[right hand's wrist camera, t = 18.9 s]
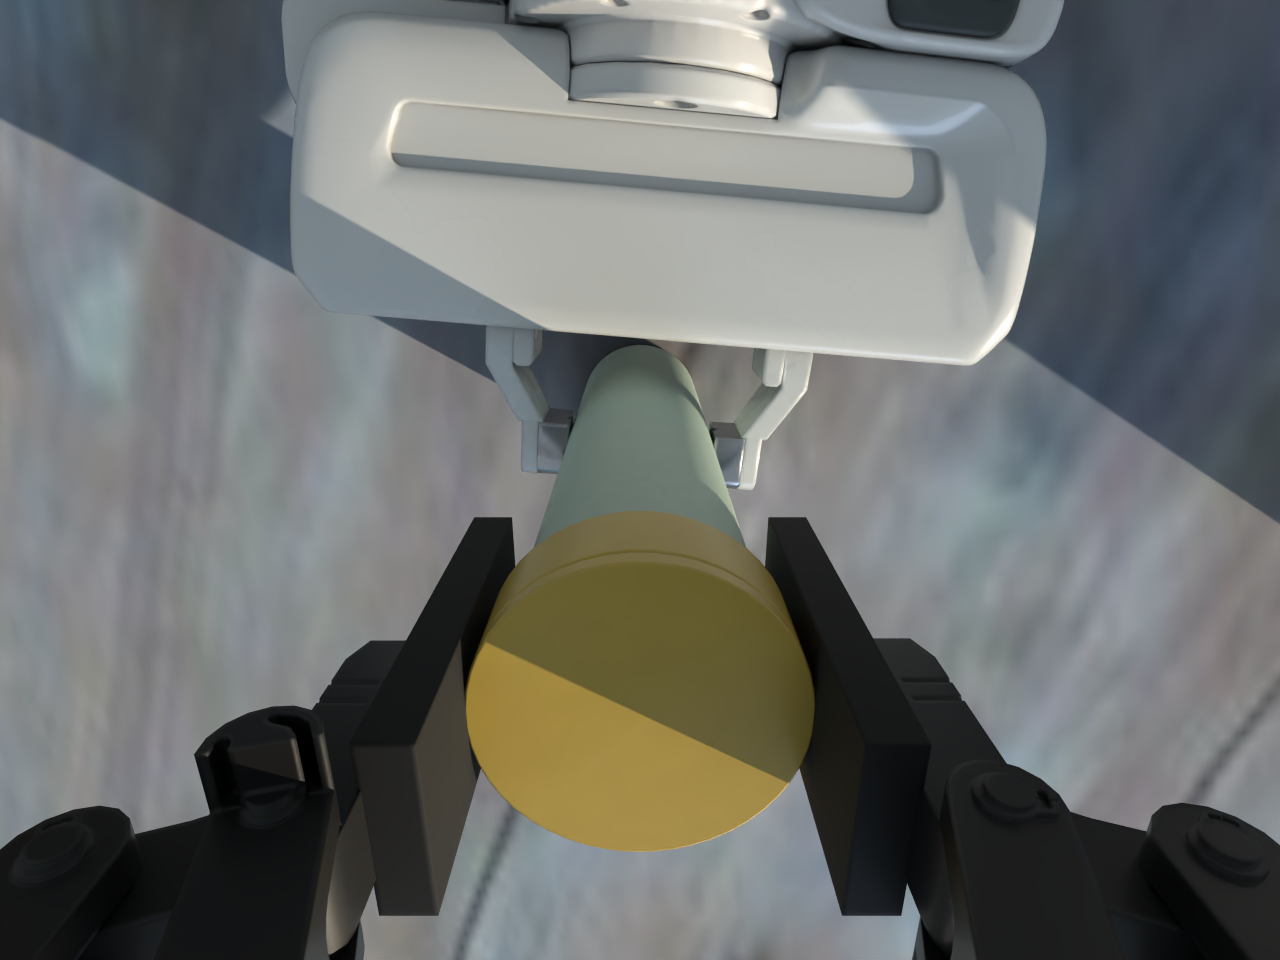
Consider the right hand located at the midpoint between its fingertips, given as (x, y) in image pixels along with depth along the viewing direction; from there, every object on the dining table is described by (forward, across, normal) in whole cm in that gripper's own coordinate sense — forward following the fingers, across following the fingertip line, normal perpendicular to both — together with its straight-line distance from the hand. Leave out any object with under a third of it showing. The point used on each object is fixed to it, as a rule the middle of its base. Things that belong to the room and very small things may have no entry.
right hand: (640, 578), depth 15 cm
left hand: (+9, 0, -1) cm, 9 cm away
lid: (-4, 0, 0) cm, 4 cm away
